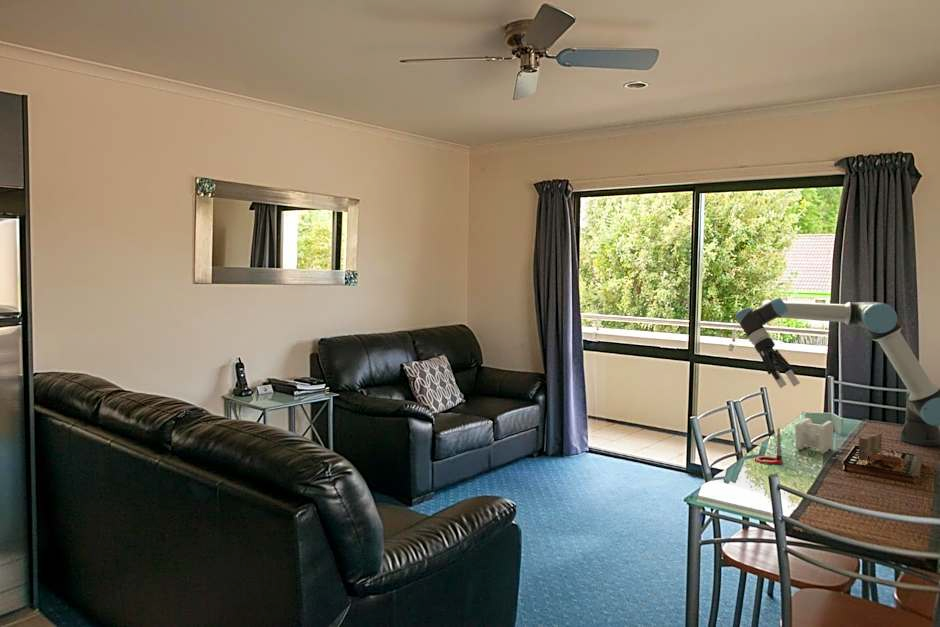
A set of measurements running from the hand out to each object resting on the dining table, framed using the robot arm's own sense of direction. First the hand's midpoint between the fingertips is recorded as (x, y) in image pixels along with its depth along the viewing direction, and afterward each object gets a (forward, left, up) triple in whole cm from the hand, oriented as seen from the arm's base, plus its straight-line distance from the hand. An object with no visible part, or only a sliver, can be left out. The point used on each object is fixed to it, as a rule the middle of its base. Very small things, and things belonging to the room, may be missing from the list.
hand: (790, 385), depth 279 cm
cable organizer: (-1, +10, -25) cm, 27 cm away
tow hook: (+29, +8, -25) cm, 39 cm away
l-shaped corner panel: (-37, -4, -25) cm, 45 cm away
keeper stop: (-1, +26, -25) cm, 36 cm away
